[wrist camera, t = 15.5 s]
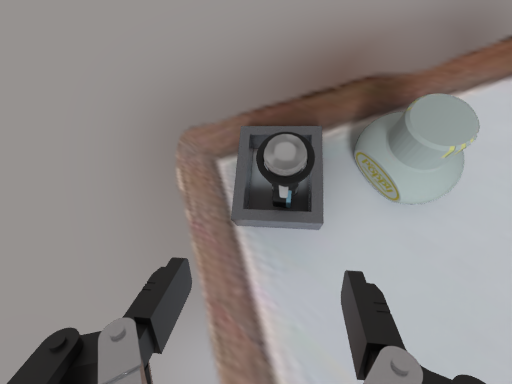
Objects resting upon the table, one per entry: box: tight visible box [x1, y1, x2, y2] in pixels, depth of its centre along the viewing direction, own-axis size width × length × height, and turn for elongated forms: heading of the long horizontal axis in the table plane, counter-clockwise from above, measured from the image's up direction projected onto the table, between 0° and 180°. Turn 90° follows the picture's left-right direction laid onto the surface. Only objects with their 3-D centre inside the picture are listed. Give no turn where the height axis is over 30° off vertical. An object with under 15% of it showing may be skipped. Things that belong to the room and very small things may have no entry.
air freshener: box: [354, 94, 479, 205], centre depth 26 cm, size 11×8×10 cm
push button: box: [256, 132, 315, 208], centre depth 27 cm, size 7×5×10 cm
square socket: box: [231, 126, 323, 230], centre depth 30 cm, size 10×12×4 cm
